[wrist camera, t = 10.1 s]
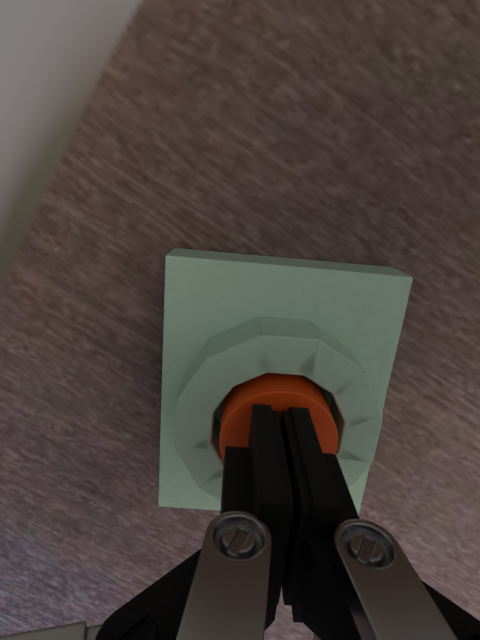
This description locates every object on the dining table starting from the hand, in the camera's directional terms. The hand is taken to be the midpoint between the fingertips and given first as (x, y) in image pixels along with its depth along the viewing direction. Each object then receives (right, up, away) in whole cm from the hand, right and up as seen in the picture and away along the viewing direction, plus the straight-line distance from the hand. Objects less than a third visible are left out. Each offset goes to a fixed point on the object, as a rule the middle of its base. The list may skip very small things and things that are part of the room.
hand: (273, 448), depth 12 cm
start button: (0, +1, +2) cm, 2 cm away
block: (0, +1, +4) cm, 4 cm away
